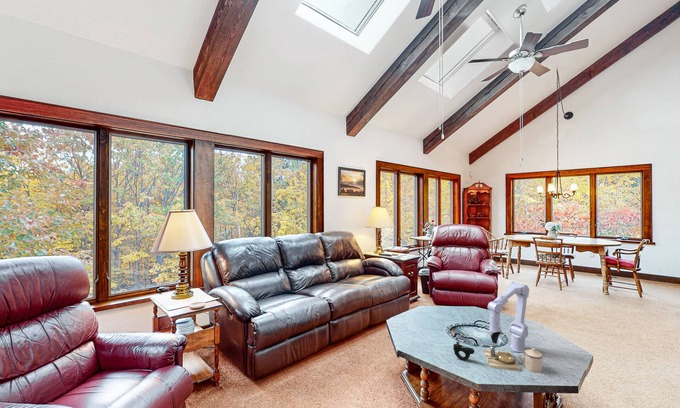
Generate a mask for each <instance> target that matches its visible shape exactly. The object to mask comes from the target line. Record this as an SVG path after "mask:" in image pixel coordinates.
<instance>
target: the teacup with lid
mask: <svg viewBox="0 0 680 408" xmlns="http://www.w3.org/2000/svg"><path fill="white" fill-rule="evenodd" d="M521 356H524V360H523V359H522V358H521ZM543 356H544V355H543V353H542V352H540V351H538V350H536V348H534V347H532V348H531V349H525V352H524V353H522V352H519V354H518V359H519V360H520V362H522V363H524V367H525V369H527V370H529V372H533V373H541V372H542V371H543Z"/></svg>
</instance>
